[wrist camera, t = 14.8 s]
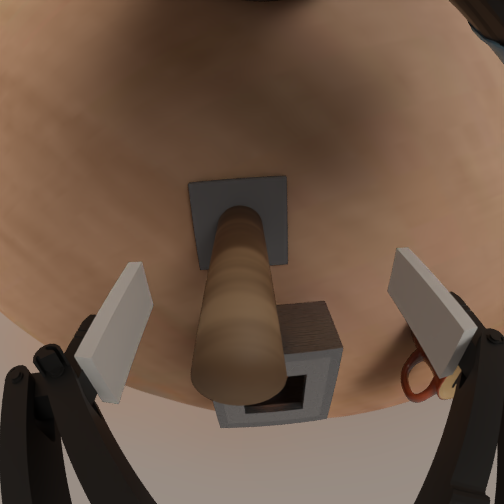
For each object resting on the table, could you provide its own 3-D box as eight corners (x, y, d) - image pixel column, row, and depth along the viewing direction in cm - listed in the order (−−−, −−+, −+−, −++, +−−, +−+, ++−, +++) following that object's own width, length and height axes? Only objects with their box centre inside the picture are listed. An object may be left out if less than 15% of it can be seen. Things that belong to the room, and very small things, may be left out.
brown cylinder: (215, 207, 24) (181, 348, 10) (261, 204, 24) (288, 343, 10) (220, 248, 26) (200, 406, 12) (263, 245, 26) (285, 402, 12)
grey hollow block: (208, 309, 30) (201, 359, 23) (324, 300, 30) (343, 347, 23) (222, 382, 35) (220, 427, 29) (315, 374, 35) (326, 418, 29)
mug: (451, 277, 29) (500, 329, 20) (460, 318, 33) (497, 367, 24) (372, 331, 32) (405, 397, 23) (392, 365, 36) (418, 422, 26)
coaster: (189, 182, 24) (188, 184, 23) (285, 175, 24) (286, 177, 23) (200, 266, 27) (200, 269, 27) (286, 260, 27) (287, 264, 27)
